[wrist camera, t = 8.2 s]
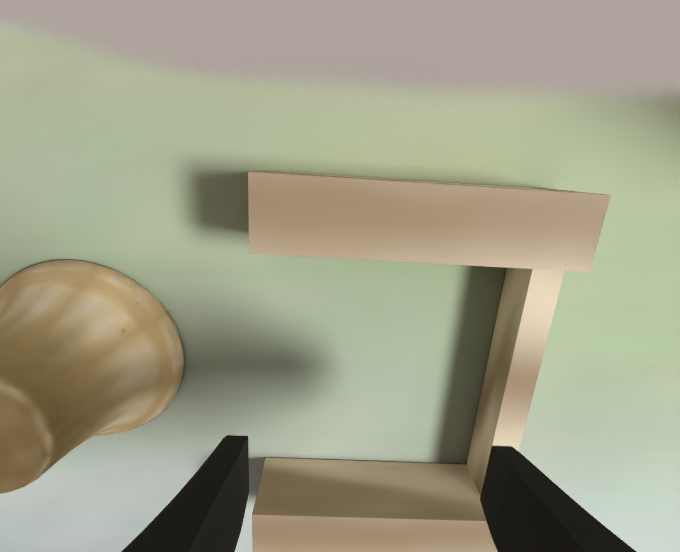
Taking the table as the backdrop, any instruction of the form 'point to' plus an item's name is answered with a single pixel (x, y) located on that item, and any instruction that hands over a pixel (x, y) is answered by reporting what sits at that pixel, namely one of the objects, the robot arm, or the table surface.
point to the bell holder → (503, 362)
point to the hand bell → (78, 362)
